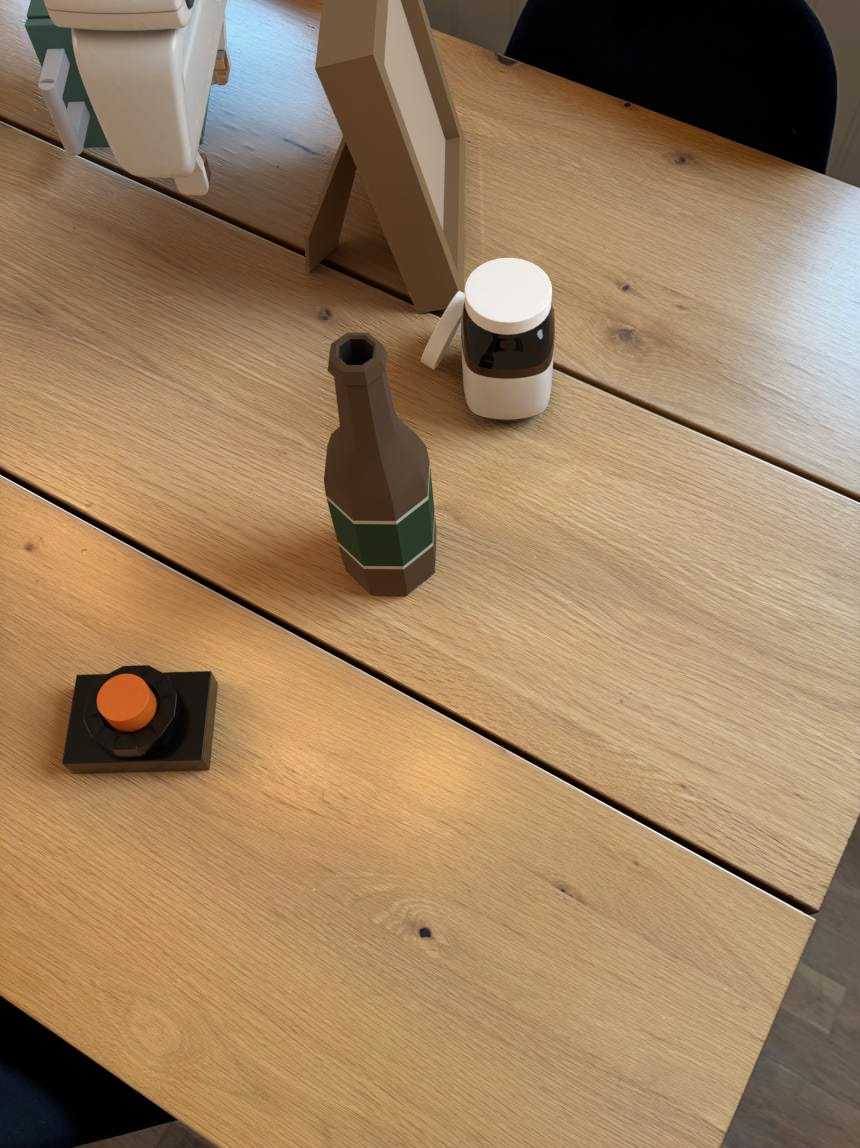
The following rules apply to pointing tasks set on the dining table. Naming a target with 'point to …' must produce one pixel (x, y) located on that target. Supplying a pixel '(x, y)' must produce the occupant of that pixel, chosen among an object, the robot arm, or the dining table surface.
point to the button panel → (160, 745)
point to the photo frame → (393, 143)
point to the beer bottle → (377, 476)
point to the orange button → (127, 702)
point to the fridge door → (65, 87)
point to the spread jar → (501, 339)
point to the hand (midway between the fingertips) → (207, 130)
